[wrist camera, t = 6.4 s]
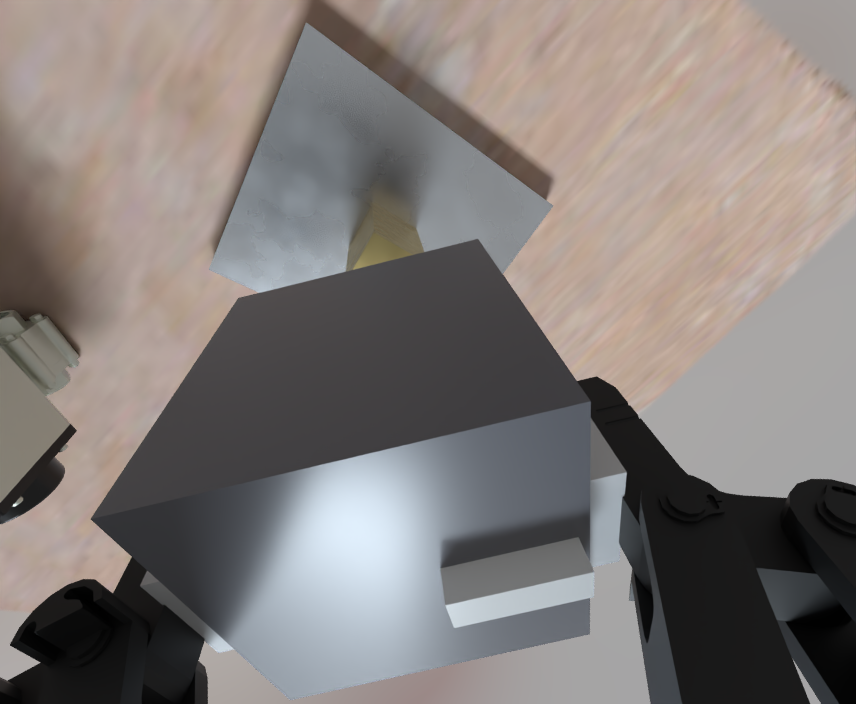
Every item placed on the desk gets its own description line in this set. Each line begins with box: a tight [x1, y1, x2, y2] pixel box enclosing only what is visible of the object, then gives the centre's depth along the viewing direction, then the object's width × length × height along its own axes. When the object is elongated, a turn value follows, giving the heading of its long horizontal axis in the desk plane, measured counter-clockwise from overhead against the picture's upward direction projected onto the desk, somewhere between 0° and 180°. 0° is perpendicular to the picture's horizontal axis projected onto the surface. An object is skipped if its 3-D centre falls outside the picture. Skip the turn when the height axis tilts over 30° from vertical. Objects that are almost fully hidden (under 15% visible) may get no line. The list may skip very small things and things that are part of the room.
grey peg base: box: [209, 23, 553, 293], centre depth 23 cm, size 16×14×7 cm
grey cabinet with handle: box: [91, 239, 594, 700], centre depth 10 cm, size 7×7×8 cm
